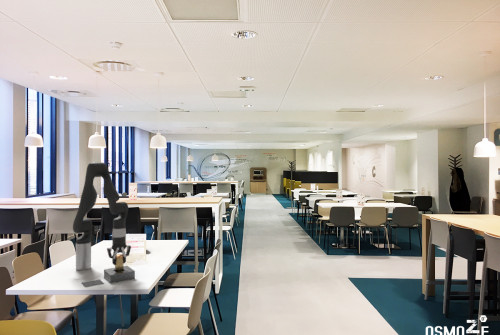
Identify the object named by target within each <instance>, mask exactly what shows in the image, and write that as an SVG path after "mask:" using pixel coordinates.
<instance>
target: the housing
mask: <svg viewBox="0 0 500 335" xmlns="http://www.w3.org/2000/svg"><path fill="white" fill-rule="evenodd" d="M135 272H136V270H134V269H132V268H131V267H130V266H128V265H124V271H120V272H115V267H111V268H104V269H103V278H104V280H106V281H107V282H108V283H110V284H113V283H119V282H124V281H131V280H135V277H136V276H135V274H136V273H135Z"/></svg>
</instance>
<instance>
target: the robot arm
mask: <svg viewBox="0 0 500 335" xmlns="http://www.w3.org/2000/svg"><path fill="white" fill-rule="evenodd" d="M109 170H110V169H108V166H107V164H106V163H104V162H101V161H99V162H97V161H96V162H89V163H88V164H87V167H86V173H85V178H84V184H83V188H82V189H83V190H82V193H81V195H80V200H79V204H78V208H77V211H76V214H75V217H74V220H73V222H72V231H73V232H74V233H75V234H82V235H80V236H79V237H77V238H76V239H75V270H76V271H85V270H89V269H91V268H92V238H93V237H92V235H93V234H92V233H93V221H92V219H91V218H89V217H85V216H86V215H87V214H88V213H89V212H90V211H91V210H92V209H93V207H94V206H95V205H96V202H97V198H98V192H97V190H96V188H95V185H94V180H95V178H102V179H103V181H104V184H103V194H104V196H105V198H106V199H107V202H108V208H109V209H108V210H109V212H110V213H111V214H112V215H118V217H115V218H114V219H113V220H112V233H111V234H112V245H111V247H107V248H106V251H107V255H108V258H110V259H112V264H113V266H115V265H116V259H115V257H116V255H118V254H119V253H121V254H123V263H124V264H126V262H127V257H128V256H130V252H131V249H132V246H131V245H129V244H127V237H126V236H127V231H126V220H127V217H128V212H129V205H128V203H127V202H125V201H120V202H118V201H119V200H120V198H121V197H120V194H119V193H118V191H117V189H116V187H115V186H114V183H113V180H112V177H111V173H110V171H109ZM125 249H126V252H125ZM112 251H113V252H112Z"/></svg>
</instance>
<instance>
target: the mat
mask: <svg viewBox="0 0 500 335" xmlns="http://www.w3.org/2000/svg"><path fill="white" fill-rule="evenodd" d="M81 284H82V285H83V287H84V288H89V287H96V286H100V285H104V284H105V283H104V282H103V281H102V280H101V278H99V279H94V280H89V281H83V282H81Z"/></svg>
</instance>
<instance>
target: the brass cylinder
mask: <svg viewBox="0 0 500 335" xmlns="http://www.w3.org/2000/svg"><path fill="white" fill-rule="evenodd" d="M115 259H116V265H114V268H115V272H120V271H124V266H125V263H123V254H122V253H121V254H119V253H117V255H116V257H115Z"/></svg>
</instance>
